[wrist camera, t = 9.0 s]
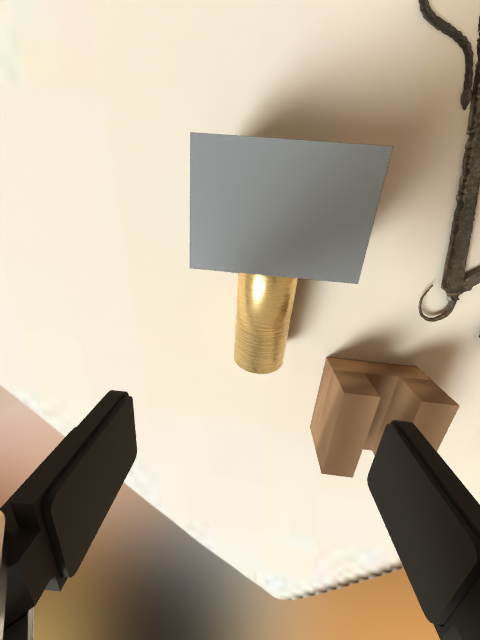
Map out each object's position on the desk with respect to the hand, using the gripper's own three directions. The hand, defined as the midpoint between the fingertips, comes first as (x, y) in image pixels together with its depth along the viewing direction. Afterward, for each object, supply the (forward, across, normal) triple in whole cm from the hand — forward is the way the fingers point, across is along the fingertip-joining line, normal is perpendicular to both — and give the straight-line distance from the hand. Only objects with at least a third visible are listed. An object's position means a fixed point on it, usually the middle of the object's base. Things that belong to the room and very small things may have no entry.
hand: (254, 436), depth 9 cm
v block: (+13, -11, +7) cm, 18 cm away
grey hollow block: (+13, -1, -8) cm, 15 cm away
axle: (+12, -1, -5) cm, 13 cm away
